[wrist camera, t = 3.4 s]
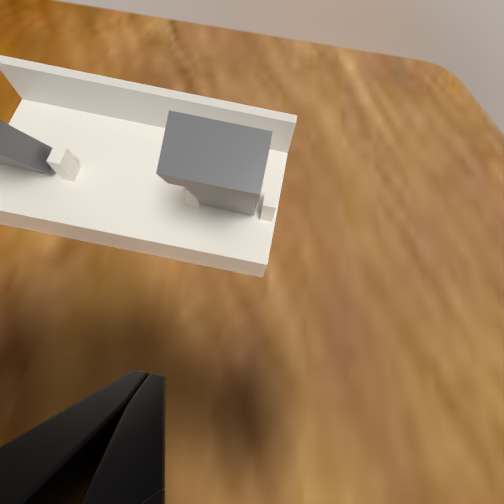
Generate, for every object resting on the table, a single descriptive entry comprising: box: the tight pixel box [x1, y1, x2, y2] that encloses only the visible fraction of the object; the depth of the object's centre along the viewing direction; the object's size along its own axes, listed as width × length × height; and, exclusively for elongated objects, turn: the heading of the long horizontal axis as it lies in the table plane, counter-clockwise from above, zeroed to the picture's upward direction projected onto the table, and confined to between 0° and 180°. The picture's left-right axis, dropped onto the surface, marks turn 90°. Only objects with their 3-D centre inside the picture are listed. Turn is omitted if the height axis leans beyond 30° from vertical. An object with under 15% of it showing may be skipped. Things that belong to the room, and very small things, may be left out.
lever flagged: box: [156, 110, 273, 216], centre depth 16 cm, size 2×4×10 cm, turn 79°
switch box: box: [0, 55, 297, 278], centre depth 22 cm, size 9×19×6 cm, turn 79°
